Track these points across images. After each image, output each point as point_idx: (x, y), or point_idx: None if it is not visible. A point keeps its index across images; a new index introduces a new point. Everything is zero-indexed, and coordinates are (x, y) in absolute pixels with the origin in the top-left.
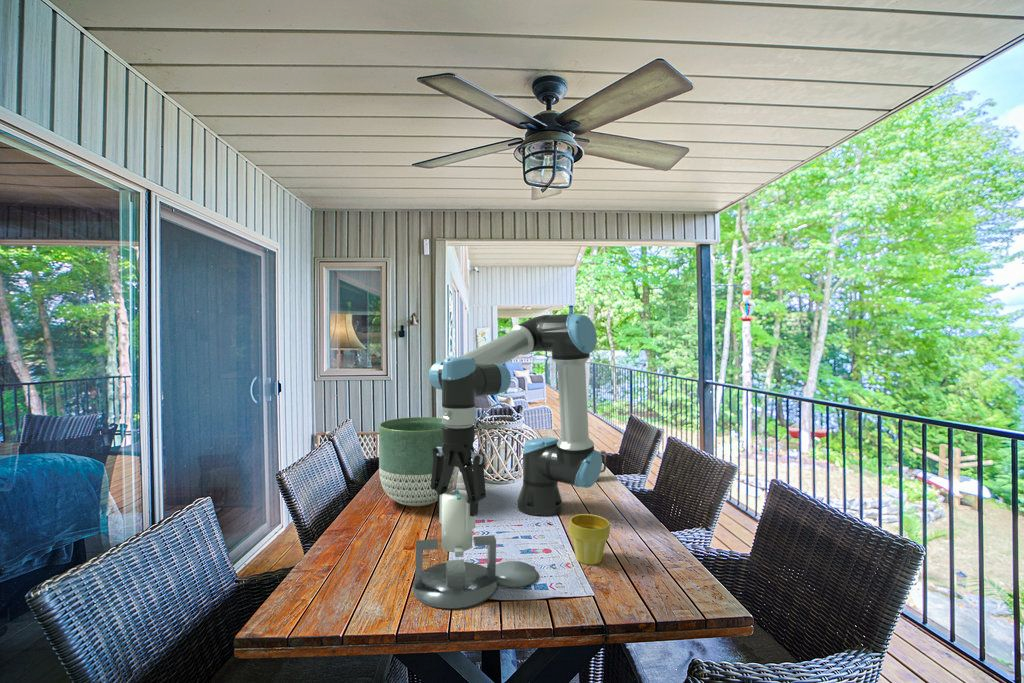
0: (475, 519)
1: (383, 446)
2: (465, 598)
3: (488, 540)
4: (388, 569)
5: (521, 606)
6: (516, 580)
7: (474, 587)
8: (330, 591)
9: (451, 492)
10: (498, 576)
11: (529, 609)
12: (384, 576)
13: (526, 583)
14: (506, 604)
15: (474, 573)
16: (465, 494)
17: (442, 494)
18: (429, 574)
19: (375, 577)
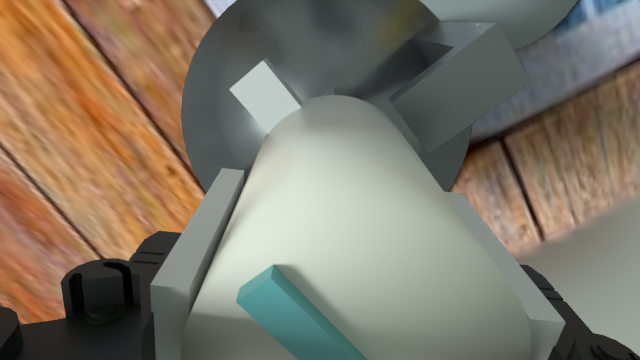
0: (480, 217)
1: None
2: None
3: (491, 104)
4: (61, 151)
5: (573, 132)
6: (530, 14)
7: (404, 131)
8: (45, 311)
9: (244, 342)
10: (454, 20)
11: (601, 135)
12: (91, 191)
13: (569, 8)
14: (525, 144)
15: (358, 46)
16: (431, 328)
17: None
18: (219, 134)
19: (74, 208)
